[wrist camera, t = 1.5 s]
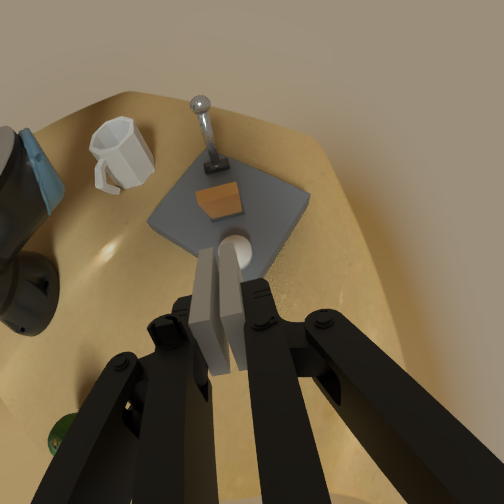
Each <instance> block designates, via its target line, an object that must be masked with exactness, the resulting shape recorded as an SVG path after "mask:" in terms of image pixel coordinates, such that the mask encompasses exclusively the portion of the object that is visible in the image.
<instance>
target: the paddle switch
mask: <svg viewBox="0 0 504 504" xmlns="http://www.w3.org/2000/svg"><path fill="white" fill-rule="evenodd" d="M195 194H196V198H197V203H198V205H199V206H200V207H201V208H202V209H203V210H204V211H205V212H206V213H207V214H208V215H209V216H210V219H211V222H216V221H220V220H224V219H228V218H232V217H236V216H240V215H244V210H243V206H242V202H241V201H240V196H239V191H238V187H237V183H236V182H232V183H227V184H223V185H219V186H216V187H212V188H208V189H204V190H200V191H196V192H195Z"/></svg>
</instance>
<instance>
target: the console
mask: <svg viewBox="0 0 504 504" xmlns="http://www.w3.org/2000/svg"><path fill="white" fill-rule="evenodd" d="M219 157H220V159H221V158H226V157H227V158H228V162H229V166H230V169H227V170H223V171H219V172H215V173H211V174H208V175H206V173H205V170H204V166H203V163H206V162H210V158H209V155H208V151H207V148H206V149H205V150H204V151H203V152H202V154H201V155H200V156H199V157H198V158H197V159H196V160H195V162H194V163H193V164H192V165H191V166H190V167H189V169H188V170H187V171H186V172H185V173H184V174H183V176H182V177H181V178H180V179H179V180H178V182H177V183H176V184H175V185H174V187H173V188H172V189H171V190H170V192H169V193H168V194H167V195H166V197H165V198H164V199H163V200H162V202H161V203H160V204H159V205H158V207H157V208H156V209H155V211H154V212H153V213H152V214H151V216H150V217H149V218H148V220H147V221H146V222H147V223H148V224H149V225H150V226H151V228H152V229H153V230H154V231H156V232H157V233H159V234H160V235H162V236H164V237H165V238H167V239H168V240H170V241H172V242H173V243H175V244H176V245H178V246H180V247H181V248H183V249H184V250H186V251H188V252H189V253H191V254H192V255H194V256H196V257H197V258H198V255H199V250H202V249H206V248H210V247H213V249H214V252H215V256H216V259H217V263H218V266H219V255H218V248H219V245H220V243H221V242H222V241H223V240H224V239H225V238H226V237H228V236H231V235H240V236H243V237H245V238H246V239H247V240H248V241H249V242H250V245H251V248H252V253H253V258H252V261H251V263H250V265H249V266H248V267H247V268H246V269H244V270H241V273H242V277H243V281H244V282H245V281H249V280H254V279H258V278H263V277H264V276H265V274H266V273H267V271H268V270H269V268H270V266H271V265H272V263H273V262H274V260H275V258H276V257H277V255H278V253H279V252H280V250H281V249H282V247H283V245H284V244H285V242H286V241H287V239H288V237H289V236H290V234H291V232H292V231H293V229H294V228H295V226H296V224H297V223H298V221H299V219H300V218H301V216H302V214H303V213H304V211H305V210H306V208H307V206H308V204H309V198H310V194H309V193H307V192H305V191H303V190H301V189H299V188H297V187H295V186H293V185H291V184H289V183H286V182H284V181H282V180H280V179H278V178H276V177H273V176H271V175H269V174H267V173H265V172H262V171H260V170H258V169H256V168H253V167H251V166H249V165H246V164H244V163H242V162H239V161H237V160H235V159H232V158H230V157H228V156H225V155H223V154H220V153H219ZM232 182H236V183H237V187H238V191H239V196H240V201H241V202H242V206H243V210H244V215H240V216H236V217H232V218H228V219H224V220H220V221H216V222H211V219H210V216H209V215H208V214H207V213H206V212H205V211H204V210H203V209H202V208H201V207H200V206H199V205H198V203H197V198H196V194H195V192H196V191H200V190H204V189H208V188H212V187H216V186H219V185H223V184H227V183H232Z"/></svg>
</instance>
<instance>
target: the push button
mask: <svg viewBox="0 0 504 504" xmlns="http://www.w3.org/2000/svg"><path fill="white" fill-rule="evenodd" d="M230 242H233V243H234V247H235V251H236V254H237V258H238V262H239V266H240V270H244V269H246V268H247V267H248V266H249V265H250V263H251V261H252V258H253V253H252V248H251V245H250V242H249V241H248V240H247V239H246V238H245V237H243V236H240V235H231V236H228V237H226V238H225V239H224V240H223V241H222V242H221V243H220V245H222V244H226V243H230ZM218 255H219V248H218Z"/></svg>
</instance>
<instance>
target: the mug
mask: <svg viewBox="0 0 504 504" xmlns="http://www.w3.org/2000/svg"><path fill="white" fill-rule="evenodd" d="M89 151H90V152H91V153H92V155H93V156H94V157H95V159H96V160H97V161H98V163H97V165H96V166H95V188H97V189H100V190H102V191H104V192H107V193H109V194H115V195H119V194H120V189H121V188H118V187H115V186H112V185H109V184H107V181H106V173H107V174H108V175H109V176H110V178H111V179H112V180H113V181H114V183H115V184H117V185H119V186H120V187H122V188H124V189H128V188H132V187H136V186H139V185H143V183H144V182H145V181H146V180H147V179H148V178H149V176H150V175H151V174H152V173H153V172H154V171H155V164H154V157H153V155H152V153H151V151H150V149H149V148H148V146H147V144H146V142H145V140H144V138H143V137H142V135H141V133H140V131H139V129H138V127H137V125H136V123H135V122H134V120H133V119H130V118H126V117H123V116H120V117H118V118H115V119H112V120H109V121H106V122H105V123H104V124H103V125H102V126H101V127H100V128H99V129H98V130H97V131H96V132H95V133H94V134H93V135H92V138H91V142H90V147H89ZM105 171H106V173H105Z"/></svg>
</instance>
